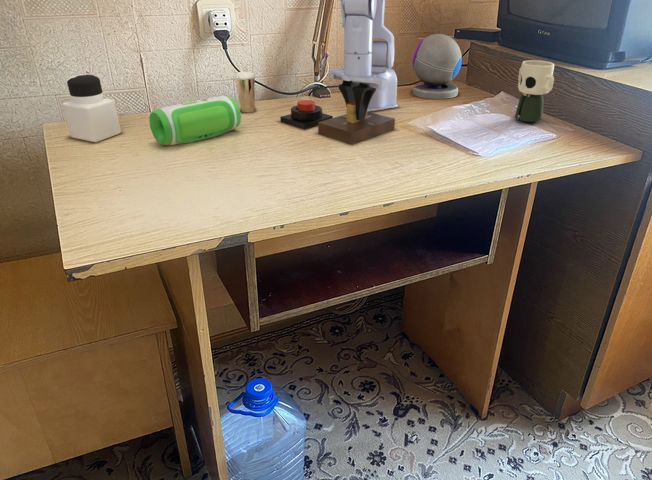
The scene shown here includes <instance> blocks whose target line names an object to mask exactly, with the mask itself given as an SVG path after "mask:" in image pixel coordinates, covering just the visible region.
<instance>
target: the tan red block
mask: <svg viewBox="0 0 652 480" xmlns="http://www.w3.org/2000/svg"><path fill="white" fill-rule="evenodd" d="M346 114H347V122H349V123H355V122H358V121H361V120H357V119H356V103H355V102H349V103H348V104H347V106H346ZM365 119H367V112H366V116H365ZM362 120H364V119H362Z"/></svg>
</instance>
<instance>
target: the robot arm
mask: <svg viewBox="0 0 652 480" xmlns="http://www.w3.org/2000/svg"><path fill="white" fill-rule="evenodd" d="M385 6H386V0H340V11H341V25H342V28H343V68H337V67H335V68H330V69H329V70H328V71H329V73H328V74H329V75H328V76H329V80H339V81H342V82H341V83H340V84H338V90H339V92H340V93H341V95H342V97H343V99H344V102H345V105H346V107H347V104H348V103H349V102H355V103H356V119H357V120H362V119H365V116H366V112H367V111H368V112H376V111H377V112H378V111H382V110H388V109H393V108H394V109H395V108H398V107H399V105H398V104H397V96H398V95H397V93H398V77H397V74H396V71H395V70H394V69H392V68H393V66H394V62H395V37H394V34H393V33H392V32H391V31H390V30H389V29H388V28H387V27H386V26H385V25H384V24H385V8H386V7H385ZM373 39H378V40H373ZM381 39H383V40H381Z"/></svg>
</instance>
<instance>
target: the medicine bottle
mask: <svg viewBox="0 0 652 480" xmlns="http://www.w3.org/2000/svg"><path fill="white" fill-rule="evenodd" d="M66 84H67V88H68V93H69V96H70V99H71V100H68V101H64V102H62V104H61V105H62V108H63V112H64V116H65V120H66V124H67V128H68V131H69V135H70V138H71V139H77V140H82V141H87V142H90V143H91V142H92V143H99V142H101V141H104V140H107V139H109V138H112V137H114V136H117V135H120V134H122V129H121V125H120V120H119V116H118V111H117V107H116V102H115V99H112V98H105V97H104V92H103V88H102V83H101V79H100V77H98V76H97V75H93V74H76V75H73V76H70V77H69V78H67V80H66Z"/></svg>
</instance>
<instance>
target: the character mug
mask: <svg viewBox="0 0 652 480" xmlns="http://www.w3.org/2000/svg"><path fill="white" fill-rule="evenodd" d="M520 66H521V67H519V70H518V71H519V72H518V77H517V80H518V83H517V88H518V91H519V92H520V93H522V94H521V96H519V101H518V103H517V107H516V111H515V115H514V118H515V119H517V120H518V117H519V121H521V122H528V123H529V122H530V123H533V122H537V121H541V120H543V115H544V100H545V99H544V96H543V95H546V94H548V93H550V92H551V91H552V90H553V87H554V82H555V77H554V71H555V63H553V62H551V61H546V60H538V59H537V60H536V59H527V60H523V61H522V63H521V65H520Z"/></svg>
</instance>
